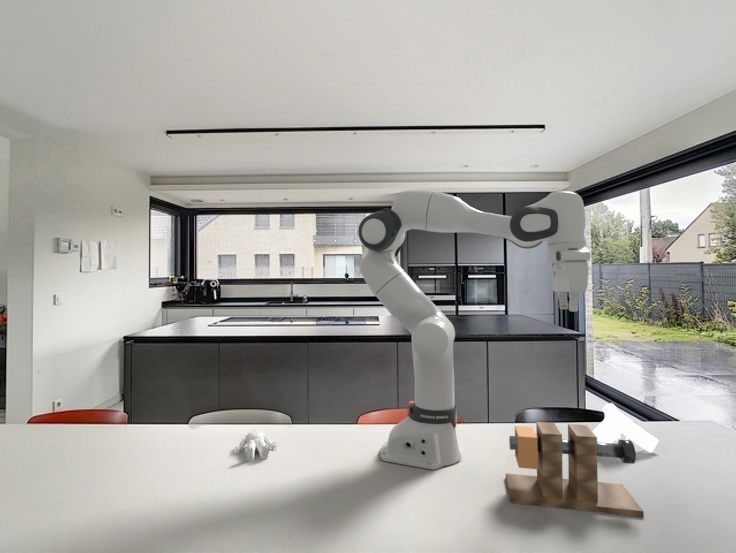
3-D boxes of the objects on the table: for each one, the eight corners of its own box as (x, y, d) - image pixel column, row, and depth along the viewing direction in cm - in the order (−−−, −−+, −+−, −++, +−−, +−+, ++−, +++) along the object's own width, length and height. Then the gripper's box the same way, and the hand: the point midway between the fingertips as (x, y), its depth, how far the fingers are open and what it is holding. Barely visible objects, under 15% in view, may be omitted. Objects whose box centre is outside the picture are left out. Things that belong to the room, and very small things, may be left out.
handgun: (587, 445, 117) (613, 403, 118) (581, 441, 120) (607, 400, 121) (636, 479, 118) (661, 438, 120) (629, 475, 121) (654, 434, 122)
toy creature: (234, 449, 112) (234, 425, 123) (234, 469, 113) (233, 443, 124) (280, 443, 116) (275, 420, 127) (279, 463, 117) (275, 438, 128)
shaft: (511, 457, 96) (510, 435, 96) (508, 448, 100) (508, 428, 100) (635, 467, 90) (635, 445, 90) (627, 458, 95) (627, 437, 95)
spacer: (518, 467, 94) (518, 436, 94) (515, 455, 101) (514, 426, 101) (537, 469, 93) (537, 437, 93) (532, 456, 100) (532, 427, 100)
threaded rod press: (511, 502, 92) (510, 434, 92) (505, 478, 104) (505, 417, 104) (643, 517, 86) (642, 443, 87) (622, 489, 98) (621, 424, 98)
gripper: (545, 258, 117) (546, 308, 117) (563, 253, 97) (564, 312, 97) (569, 257, 116) (571, 307, 115) (592, 252, 96) (594, 312, 95)
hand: (568, 310), depth 106 cm, fingers open, 8 cm apart
